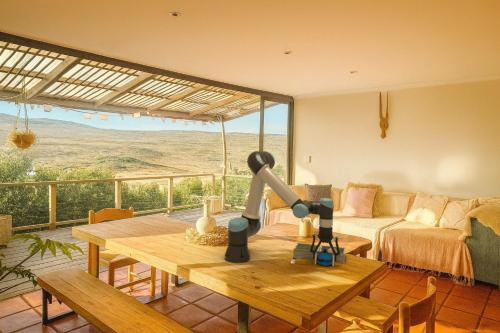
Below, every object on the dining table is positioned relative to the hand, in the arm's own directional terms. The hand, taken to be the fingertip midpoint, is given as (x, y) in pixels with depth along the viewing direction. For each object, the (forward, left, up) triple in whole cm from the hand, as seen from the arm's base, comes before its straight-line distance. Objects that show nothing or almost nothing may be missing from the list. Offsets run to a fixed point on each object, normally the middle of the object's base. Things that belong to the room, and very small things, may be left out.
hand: (324, 265), depth 188 cm
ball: (+14, -4, +1) cm, 14 cm away
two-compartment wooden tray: (+14, +4, 0) cm, 15 cm away
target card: (+1, +15, 0) cm, 15 cm away
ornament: (0, 0, 0) cm, 0 cm away
